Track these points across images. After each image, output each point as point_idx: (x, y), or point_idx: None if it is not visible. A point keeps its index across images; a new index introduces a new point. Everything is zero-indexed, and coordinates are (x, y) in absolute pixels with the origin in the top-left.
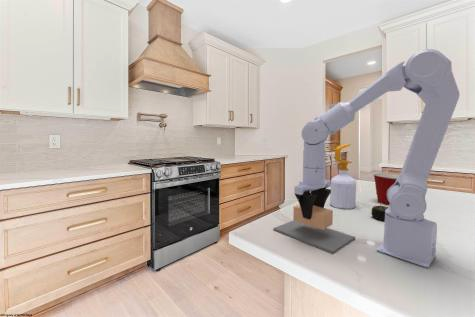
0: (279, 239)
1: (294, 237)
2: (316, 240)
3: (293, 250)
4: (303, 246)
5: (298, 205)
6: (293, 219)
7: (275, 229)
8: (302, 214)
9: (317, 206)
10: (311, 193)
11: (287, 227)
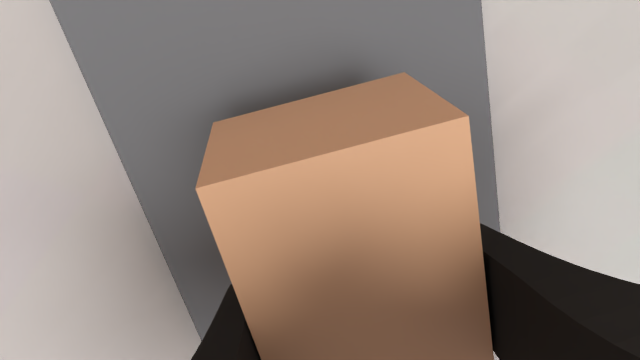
0: (15, 166)
1: (144, 206)
2: None
3: (40, 326)
4: (138, 307)
5: (299, 182)
6: (212, 126)
7: (52, 3)
8: (221, 304)
9: (484, 313)
10: (604, 340)
11: (195, 30)
